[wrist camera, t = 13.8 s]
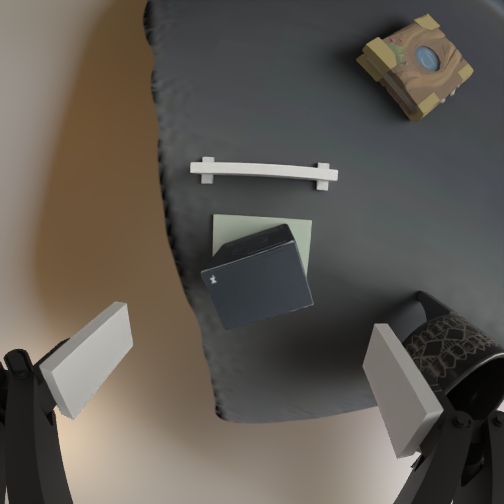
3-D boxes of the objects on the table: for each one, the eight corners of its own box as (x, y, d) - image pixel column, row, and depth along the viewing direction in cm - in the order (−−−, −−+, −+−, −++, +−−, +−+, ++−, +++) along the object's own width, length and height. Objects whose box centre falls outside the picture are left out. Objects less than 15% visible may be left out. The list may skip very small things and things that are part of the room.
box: (238, 288, 32) (223, 332, 22) (221, 243, 31) (197, 270, 21) (302, 268, 31) (315, 306, 21) (287, 221, 30) (295, 238, 20)
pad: (214, 214, 31) (213, 214, 31) (311, 220, 30) (311, 220, 30) (213, 288, 33) (212, 289, 33) (303, 295, 32) (304, 296, 32)
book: (415, 25, 23) (429, 10, 18) (464, 83, 24) (482, 74, 19) (354, 61, 26) (365, 43, 21) (412, 128, 27) (432, 120, 22)
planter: (388, 273, 31) (470, 346, 14) (455, 296, 31) (531, 356, 14) (349, 358, 34) (385, 458, 17) (417, 369, 34) (465, 447, 17)
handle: (204, 157, 30) (191, 152, 25) (328, 164, 29) (338, 160, 24) (202, 183, 30) (189, 182, 25) (326, 190, 29) (336, 191, 25)
